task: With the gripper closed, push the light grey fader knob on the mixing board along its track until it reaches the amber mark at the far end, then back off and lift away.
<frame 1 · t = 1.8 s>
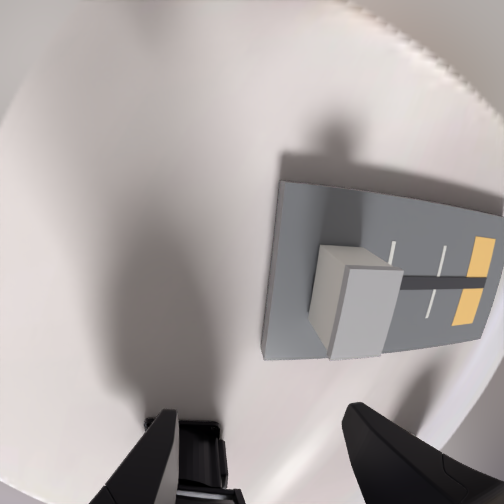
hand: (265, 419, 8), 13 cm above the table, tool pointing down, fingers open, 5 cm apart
mixing board: (407, 276, 23), on the table
fader: (350, 298, 18), point 4 cm above the table, slide at 0.0 cm
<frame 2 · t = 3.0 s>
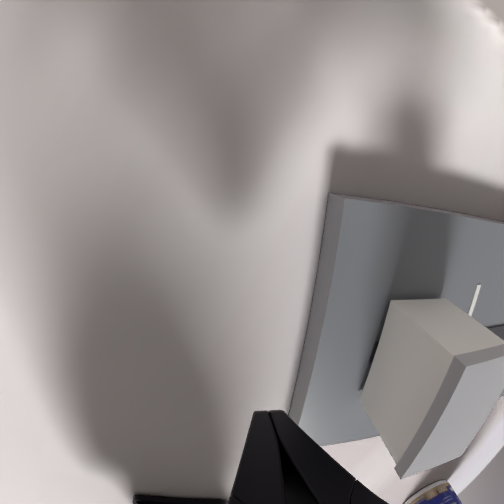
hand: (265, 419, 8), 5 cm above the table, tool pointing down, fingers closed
pill bottle: (423, 493, 22), on the table
mixing board: (477, 322, 15), on the table
fader: (431, 383, 10), point 4 cm above the table, slide at 0.0 cm
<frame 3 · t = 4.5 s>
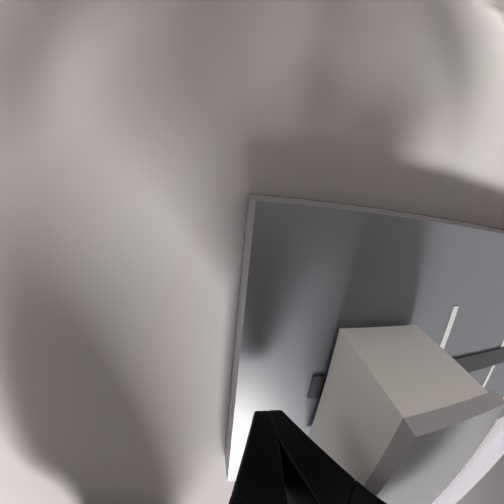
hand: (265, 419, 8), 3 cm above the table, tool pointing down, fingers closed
mixing board: (457, 346, 13), on the table
fader: (389, 431, 8), point 4 cm above the table, slide at 0.4 cm, touching gripper
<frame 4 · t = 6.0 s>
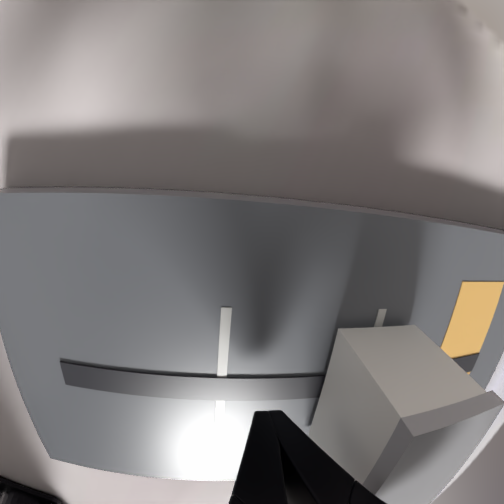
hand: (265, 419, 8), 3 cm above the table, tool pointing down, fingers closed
mixing board: (298, 361, 12), on the table
fader: (387, 431, 8), point 4 cm above the table, slide at 8.9 cm, touching gripper
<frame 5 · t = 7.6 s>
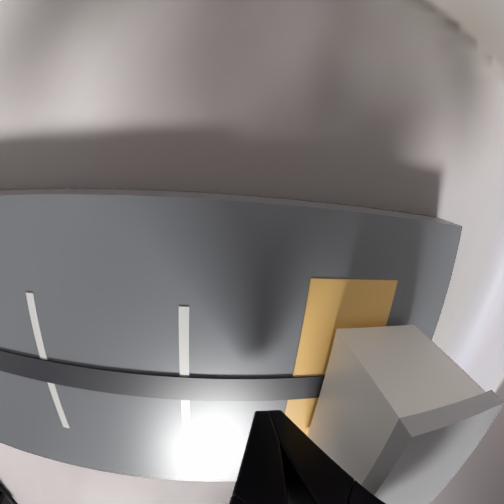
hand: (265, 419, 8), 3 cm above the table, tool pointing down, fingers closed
mixing board: (133, 357, 11), on the table
fader: (386, 431, 8), point 4 cm above the table, slide at 15.0 cm, touching gripper
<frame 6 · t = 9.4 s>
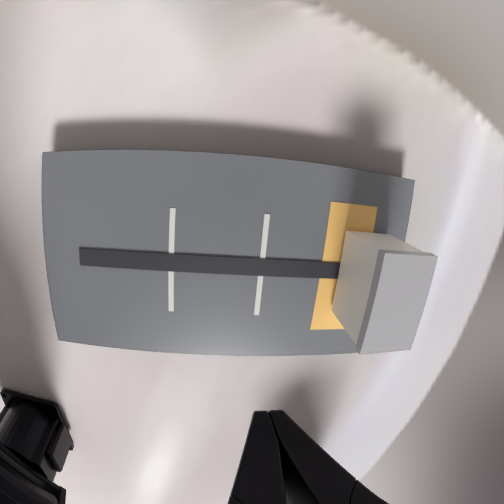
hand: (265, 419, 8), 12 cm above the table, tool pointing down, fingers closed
mixing board: (224, 256, 19), on the table
fader: (378, 288, 16), point 4 cm above the table, slide at 15.0 cm
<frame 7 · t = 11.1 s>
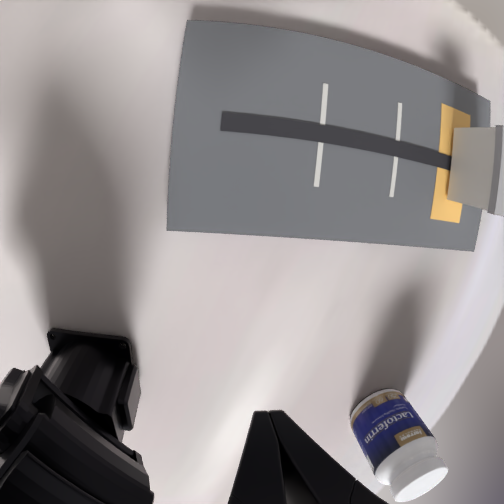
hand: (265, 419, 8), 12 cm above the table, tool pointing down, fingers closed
pill bottle: (374, 408, 26), on the table
mixing board: (357, 143, 18), on the table
fader: (488, 170, 16), point 4 cm above the table, slide at 15.0 cm
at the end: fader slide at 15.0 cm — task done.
